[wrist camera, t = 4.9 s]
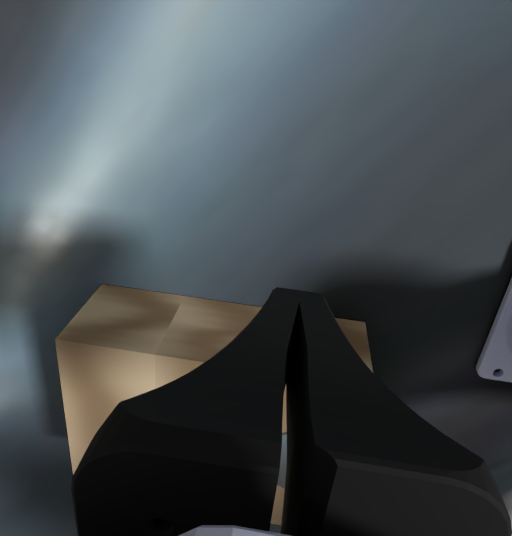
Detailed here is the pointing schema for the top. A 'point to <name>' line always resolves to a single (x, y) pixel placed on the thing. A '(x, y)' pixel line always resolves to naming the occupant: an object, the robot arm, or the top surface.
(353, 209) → the top surface
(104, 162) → the top surface
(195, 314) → the socket block
